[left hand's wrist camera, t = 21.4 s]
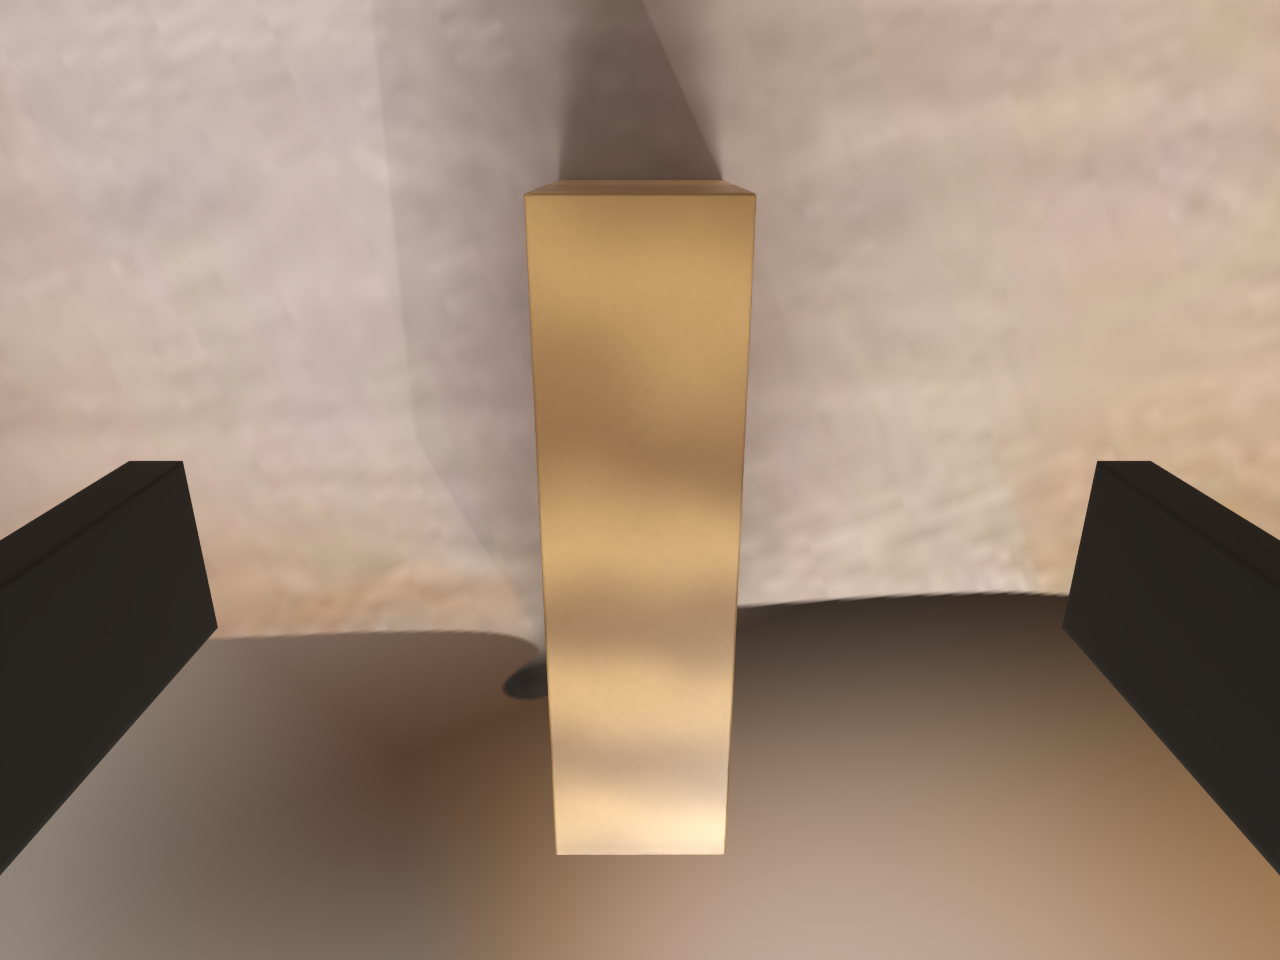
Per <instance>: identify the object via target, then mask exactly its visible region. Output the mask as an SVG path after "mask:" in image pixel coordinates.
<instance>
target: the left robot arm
mask: <svg viewBox="0 0 1280 960" xmlns="http://www.w3.org/2000/svg"><path fill="white" fill-rule="evenodd" d="M217 628H218V626H217V622H216V617H215V612H214V607H213V603H212V598H211V593H210V588H209V584H208V579H207V574H206V569H205V565H204V560H203V555H202V550H201V546H200V541H199V536H198V531H197V527H196V522H195V517H194V512H193V508H192V503H191V498H190V493H189V489H188V484H187V479H186V474H185V470H184V465H183V461H129V462H127V463H125V464H124V465H122V466H120V467H119V468H117V469H116V470H114V471H112V472H111V473H109V474H107V475H106V476H104V477H103V478H101V479H99V480H98V481H96V482H94V483H93V484H91V485H90V486H88V487H86V488H85V489H83V490H81V491H80V492H78V493H77V494H75V495H73V496H72V497H70V498H68V499H67V500H65V501H64V502H62V503H60V504H59V505H57V506H55V507H54V508H52V509H51V510H49V511H47V512H46V513H44V514H42V515H41V516H39V517H38V518H36V519H34V520H33V521H31V522H29V523H28V524H26V525H25V526H23V527H21V528H20V529H18V530H16V531H15V532H13V533H12V534H10V535H8V536H7V537H5V538H3V539H2V540H0V875H1V874H2V873H3V872H4V870H5V869H6V868H7V867H8V866H9V865H10V864H11V862H12V861H13V860H14V859H15V858H16V857H17V856H18V854H19V853H20V852H21V851H22V850H23V849H24V848H25V846H26V845H27V844H28V843H29V842H30V841H31V840H32V838H33V837H34V836H35V835H36V834H37V833H38V832H39V831H40V829H41V828H42V827H43V826H44V825H45V824H46V823H47V821H48V820H49V819H50V818H51V817H52V816H53V814H54V813H55V812H56V811H57V810H58V809H59V808H60V807H61V805H62V804H63V803H64V802H65V801H66V800H67V799H68V798H69V796H70V795H71V794H72V793H73V792H74V791H75V790H76V788H77V787H78V786H79V785H80V784H81V783H82V782H83V780H84V779H85V778H86V777H87V776H88V775H89V774H90V772H91V771H92V770H93V769H94V768H95V767H96V766H97V764H98V763H99V762H100V761H101V760H102V759H103V758H104V757H105V755H106V754H107V753H108V752H109V751H110V750H111V748H112V747H113V746H114V745H115V744H116V743H117V742H118V741H119V739H120V738H121V737H122V736H123V735H124V734H125V733H126V731H127V730H128V729H129V728H130V727H131V726H132V725H133V723H134V722H135V721H136V720H137V719H138V718H139V717H140V716H141V714H142V713H143V712H144V711H145V710H146V709H147V708H148V706H149V705H150V704H151V703H152V702H153V701H154V700H155V698H156V697H157V696H158V695H159V694H160V693H161V692H162V690H163V689H164V688H165V687H166V686H167V685H168V684H169V682H170V681H171V680H172V679H173V678H174V677H175V676H176V675H177V673H178V672H179V671H180V670H181V669H182V668H183V667H184V665H185V664H186V663H187V662H188V661H189V660H190V659H191V657H192V656H193V655H194V654H195V653H196V652H197V651H198V649H199V648H200V647H201V646H202V645H203V644H204V643H205V642H206V640H207V639H208V638H209V637H210V636H211V635H212V634H213V632H214V631H215V630H216V629H217ZM1062 628H1063V629H1064V630H1065V631H1066V632H1067V634H1068V635H1069V636H1070V637H1071V638H1072V639H1073V640H1074V642H1075V643H1076V644H1077V645H1078V646H1079V647H1080V648H1081V649H1082V651H1083V652H1084V653H1085V654H1086V655H1087V656H1088V657H1089V659H1090V660H1091V661H1092V662H1093V663H1094V664H1095V665H1096V667H1097V668H1098V669H1099V670H1100V671H1101V672H1102V673H1103V675H1104V676H1105V677H1106V678H1107V679H1108V680H1109V681H1110V682H1111V684H1112V685H1113V686H1114V687H1115V688H1116V689H1117V690H1118V692H1119V693H1120V694H1121V695H1122V696H1123V697H1124V698H1125V700H1126V701H1127V702H1128V703H1129V704H1130V705H1131V706H1132V708H1133V709H1134V710H1135V711H1136V712H1137V713H1138V714H1139V716H1140V717H1141V718H1142V719H1143V720H1144V721H1145V722H1146V723H1147V725H1148V726H1149V727H1150V728H1151V729H1152V730H1153V731H1154V733H1155V734H1156V735H1157V736H1158V737H1159V738H1160V739H1161V741H1162V742H1163V743H1164V744H1165V745H1166V746H1167V747H1168V748H1169V750H1170V751H1171V752H1172V753H1173V754H1174V755H1175V756H1176V758H1177V759H1178V760H1179V761H1180V762H1181V763H1182V764H1183V766H1184V767H1185V768H1186V769H1187V770H1188V771H1189V772H1190V774H1191V775H1192V776H1193V777H1194V778H1195V779H1196V780H1197V782H1198V783H1199V784H1200V785H1201V786H1202V787H1203V788H1204V790H1205V791H1206V792H1207V793H1208V794H1209V795H1210V796H1211V798H1212V799H1213V800H1214V801H1215V802H1216V803H1217V804H1218V805H1219V807H1220V808H1221V809H1222V810H1223V811H1224V812H1225V813H1226V815H1227V816H1228V817H1229V818H1230V819H1231V820H1232V821H1233V823H1234V824H1235V825H1236V826H1237V827H1238V828H1239V829H1240V830H1241V832H1242V833H1243V834H1244V835H1245V836H1246V837H1247V838H1248V840H1249V841H1250V842H1251V843H1252V844H1253V845H1254V846H1255V848H1256V849H1257V850H1258V851H1259V852H1260V853H1261V854H1262V856H1263V857H1264V858H1265V859H1266V860H1267V861H1268V862H1269V863H1270V865H1271V866H1272V867H1273V868H1274V869H1275V870H1276V872H1277V873H1278V874H1279V875H1280V540H1278V539H1277V538H1275V537H1273V536H1272V535H1270V534H1268V533H1267V532H1265V531H1264V530H1262V529H1260V528H1259V527H1257V526H1255V525H1254V524H1252V523H1251V522H1249V521H1247V520H1246V519H1244V518H1242V517H1241V516H1239V515H1238V514H1236V513H1234V512H1233V511H1231V510H1229V509H1228V508H1226V507H1225V506H1223V505H1221V504H1220V503H1218V502H1216V501H1215V500H1213V499H1212V498H1210V497H1208V496H1207V495H1205V494H1203V493H1202V492H1200V491H1199V490H1197V489H1195V488H1194V487H1192V486H1190V485H1189V484H1187V483H1186V482H1184V481H1182V480H1181V479H1179V478H1177V477H1176V476H1174V475H1173V474H1171V473H1169V472H1168V471H1166V470H1164V469H1163V468H1161V467H1160V466H1158V465H1156V464H1155V463H1153V462H1151V461H1097V465H1096V470H1095V474H1094V479H1093V484H1092V489H1091V493H1090V498H1089V503H1088V508H1087V512H1086V517H1085V522H1084V527H1083V531H1082V536H1081V541H1080V546H1079V550H1078V555H1077V560H1076V565H1075V569H1074V574H1073V579H1072V584H1071V588H1070V593H1069V598H1068V603H1067V608H1066V612H1065V617H1064V622H1063V627H1062Z"/></svg>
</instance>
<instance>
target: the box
mask: <svg viewBox="0 0 1280 960" xmlns="http://www.w3.org/2000/svg"><path fill="white" fill-rule="evenodd" d="M524 203H525V224H526V245H527V266H528V286H529V307H530V328H531V349H532V370H533V390H534V411H535V432H536V453H537V474H538V494H539V515H540V536H541V557H542V577H543V598H544V619H545V640H546V661H547V681H548V702H549V723H550V744H551V764H552V785H553V806H554V827H555V848H556V854H558V855H723V854H725V851H726V830H727V809H728V788H729V766H730V745H731V724H732V702H733V681H734V660H735V639H736V617H737V596H738V575H739V553H740V532H741V511H742V490H743V468H744V447H745V426H746V404H747V383H748V362H749V341H750V319H751V298H752V277H753V255H754V234H755V213H756V194H755V193H753V192H750V191H748V190H745V189H743V188H740V187H738V186H735V185H733V184H730V183H728V182H725V181H723V180H558V181H556V182H553V183H551V184H548V185H546V186H543V187H541V188H538V189H536V190H533V191H531V192H528V193H526V194H525V195H524Z"/></svg>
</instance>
